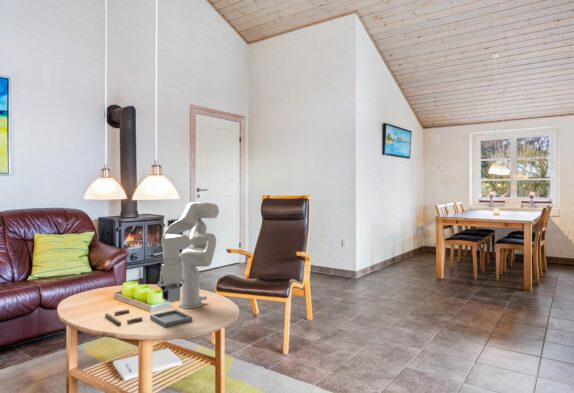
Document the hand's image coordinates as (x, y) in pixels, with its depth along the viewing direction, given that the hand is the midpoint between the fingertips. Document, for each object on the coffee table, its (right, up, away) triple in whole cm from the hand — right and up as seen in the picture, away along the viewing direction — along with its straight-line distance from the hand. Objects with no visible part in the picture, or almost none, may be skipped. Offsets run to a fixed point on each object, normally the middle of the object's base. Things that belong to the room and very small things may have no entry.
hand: (171, 297), depth 201 cm
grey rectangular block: (0, -1, 0) cm, 1 cm away
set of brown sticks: (-24, -11, +1) cm, 26 cm away
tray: (0, -11, +1) cm, 11 cm away
